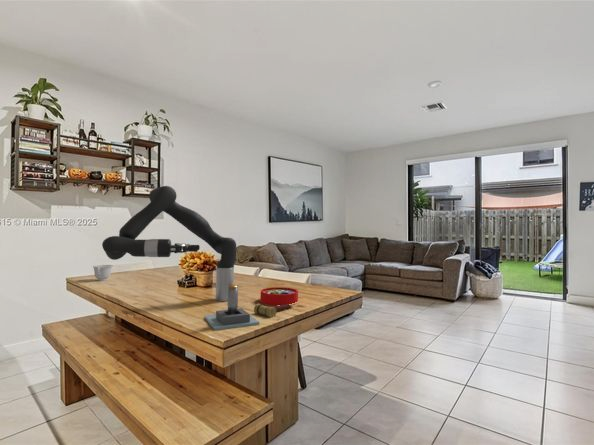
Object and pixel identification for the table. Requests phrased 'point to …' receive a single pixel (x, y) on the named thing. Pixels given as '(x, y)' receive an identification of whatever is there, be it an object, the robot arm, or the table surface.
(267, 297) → the toy clock
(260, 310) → the gavel
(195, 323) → the table surface
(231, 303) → the chrome cylinder
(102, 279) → the teacup
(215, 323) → the dock
